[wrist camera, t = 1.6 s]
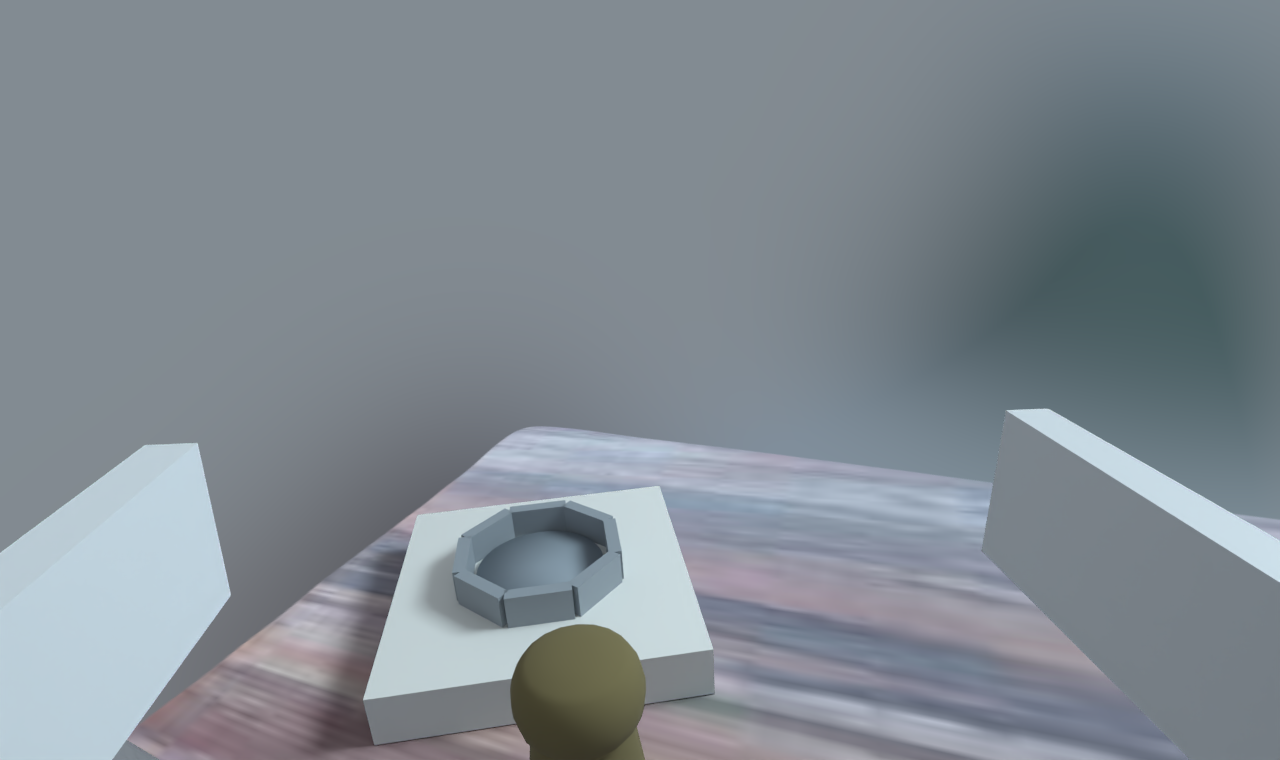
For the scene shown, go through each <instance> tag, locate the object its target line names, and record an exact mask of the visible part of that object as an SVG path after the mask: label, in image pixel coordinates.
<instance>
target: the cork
mask: <svg viewBox="0 0 1280 760" xmlns="http://www.w3.org/2000/svg"><path fill="white" fill-rule="evenodd" d="M645 695H646V678H645V675H644V671H643V668H642V665H641V662H640V659H639V657H638V654H637V652H636V651H635V650H634V649H633V648H632V647H631V645H630V644H629V643H628V642H627V641H626V640H625V639H624V638H623V637H622V636H621V635H619V634H618V633H616V632H614V631H612V630H611V629H609V628H605V627H601V626H597V625H594V624H575V625H570V626H565V627H560V628H558V629H555V630H553V631H550V632H548V633H546V634H544V635H542V636H541V637H540V638H538V639H537V640H536V641H534V642H533V643H531V645H530V646H529V647H528V648H527V650H526V651H525V652H524V653H523V655H522V656H521V658H520V659H519V661H518V663H517V665H516V668H515V670H514V673H513V676H512V679H511V686H510V698H511V709H512V714H513V719H514V720H515V722H516V724H517V726H518V728H519V730H520V732H521V733H522V735H523V737H524V739H525V741H526V743H527V744H529V745H530V760H645V758H644V754H643V750H642V746H641V742H640V738H639V734H638V730H637V725H638V723H639V721H640V719H641V717H642V713H643V709H644V703H645Z"/></svg>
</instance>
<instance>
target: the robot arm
mask: <svg viewBox="0 0 1280 760" xmlns="http://www.w3.org/2000/svg"><path fill="white" fill-rule="evenodd" d="M982 552H983V553H984V554H985V555H986V556H987V557H988V558H989V559H990V560H991V561H992V562H993V563H994V564H995V565H996V566H997V567H998V568H999V569H1000V570H1001V571H1002V572H1003V573H1004V574H1005V575H1006V576H1007V577H1008V578H1009V579H1010V580H1011V581H1012V582H1013V583H1014V584H1015V585H1016V586H1017V587H1018V588H1019V589H1020V590H1021V591H1022V592H1023V593H1024V594H1025V595H1026V596H1027V597H1028V598H1029V599H1030V600H1031V601H1032V602H1033V603H1034V604H1035V605H1036V606H1037V607H1038V608H1039V609H1040V610H1041V611H1042V612H1043V613H1044V614H1045V615H1046V616H1047V617H1048V618H1049V619H1050V620H1051V621H1052V622H1053V623H1054V624H1055V625H1056V626H1057V627H1058V628H1059V629H1060V630H1061V631H1062V632H1063V633H1064V634H1065V635H1066V636H1067V637H1068V638H1069V639H1070V640H1071V641H1072V642H1073V643H1074V644H1075V645H1076V646H1077V647H1078V648H1079V649H1080V650H1081V651H1082V652H1083V653H1084V654H1085V655H1086V656H1087V657H1088V658H1089V659H1090V660H1091V661H1092V662H1093V663H1094V664H1095V665H1096V666H1097V667H1098V668H1099V669H1100V670H1101V671H1102V672H1103V673H1104V674H1105V675H1106V676H1107V677H1108V678H1109V679H1110V680H1111V681H1112V682H1113V683H1114V684H1115V685H1116V686H1117V687H1118V688H1119V689H1120V690H1121V691H1122V692H1123V693H1124V694H1125V695H1126V696H1127V697H1128V698H1129V699H1130V700H1131V701H1132V702H1133V703H1134V704H1135V705H1136V706H1137V707H1138V708H1139V709H1140V710H1141V711H1142V712H1143V713H1144V714H1145V715H1146V716H1147V717H1148V718H1149V719H1150V720H1151V721H1152V722H1153V723H1154V724H1155V725H1156V726H1157V727H1158V728H1159V729H1160V730H1161V731H1162V732H1163V733H1164V734H1165V735H1166V736H1167V737H1168V738H1169V739H1170V740H1171V741H1172V742H1173V743H1174V744H1175V745H1176V746H1177V747H1178V748H1179V749H1180V750H1181V751H1182V752H1183V753H1184V754H1185V755H1186V756H1187V757H1188V758H1189V759H1190V760H1280V541H1279V540H1278V539H1276V538H1274V537H1272V536H1271V535H1269V534H1267V533H1265V532H1264V531H1262V530H1260V529H1258V528H1257V527H1255V526H1253V525H1251V524H1250V523H1248V522H1246V521H1244V520H1243V519H1241V518H1239V517H1237V516H1236V515H1234V514H1232V513H1230V512H1229V511H1227V510H1225V509H1223V508H1222V507H1220V506H1218V505H1216V504H1215V503H1213V502H1211V501H1209V500H1207V499H1206V498H1204V497H1202V496H1201V495H1199V494H1197V493H1195V492H1194V491H1192V490H1190V489H1188V488H1186V487H1185V486H1183V485H1181V484H1180V483H1178V482H1176V481H1174V480H1172V479H1171V478H1169V477H1167V476H1165V475H1164V474H1162V473H1160V472H1158V471H1157V470H1155V469H1153V468H1151V467H1150V466H1148V465H1146V464H1144V463H1143V462H1141V461H1139V460H1137V459H1136V458H1134V457H1132V456H1130V455H1128V454H1127V453H1125V452H1123V451H1122V450H1120V449H1118V448H1116V447H1115V446H1113V445H1111V444H1109V443H1108V442H1106V441H1104V440H1102V439H1101V438H1099V437H1097V436H1095V435H1094V434H1092V433H1090V432H1088V431H1087V430H1085V429H1083V428H1081V427H1079V426H1078V425H1076V424H1074V423H1073V422H1071V421H1069V420H1067V419H1066V418H1064V417H1062V416H1060V415H1059V414H1057V413H1055V412H1053V411H1051V410H1050V409H1029V410H1006V413H1005V419H1004V425H1003V431H1002V437H1001V442H1000V448H999V454H998V460H997V465H996V471H995V477H994V482H993V488H992V494H991V499H990V505H989V511H988V517H987V522H986V528H985V534H984V540H983V545H982ZM230 596H231V593H230V589H229V584H228V580H227V575H226V571H225V566H224V561H223V557H222V553H221V548H220V544H219V539H218V534H217V530H216V525H215V520H214V516H213V511H212V507H211V503H210V498H209V493H208V489H207V484H206V480H205V475H204V471H203V466H202V462H201V457H200V453H199V448H198V443H187V444H162V445H144V446H143V447H142V448H141V449H139V450H138V451H136V452H135V453H134V454H132V455H131V456H130V457H129V458H127V459H126V460H124V461H123V462H122V463H120V464H119V465H118V466H116V467H115V468H114V469H112V470H111V471H110V472H108V473H107V474H105V475H104V476H103V477H101V478H100V479H99V480H98V481H96V482H95V483H93V484H92V485H91V486H90V487H88V488H87V489H85V490H84V491H83V492H81V493H80V494H79V495H77V496H76V497H75V498H73V499H72V500H71V501H69V502H68V503H67V504H65V505H64V506H63V507H61V508H60V509H58V510H57V511H56V512H54V513H53V514H52V515H50V516H49V517H48V518H46V519H45V520H44V521H42V522H41V523H40V524H38V525H37V526H36V527H34V528H33V529H32V530H30V531H29V532H28V533H26V534H25V535H24V536H22V537H21V538H20V539H18V540H17V541H15V542H14V543H13V544H11V545H10V546H9V547H8V548H6V549H5V550H4V551H2V552H1V553H0V760H112V759H113V758H114V757H115V755H116V754H117V752H118V751H119V750H120V748H121V747H122V745H123V744H124V743H125V741H126V740H127V739H128V737H129V736H130V734H131V733H132V732H133V730H134V729H135V727H136V726H137V725H138V723H139V722H140V720H141V719H142V718H143V716H144V715H145V714H146V712H147V711H148V709H149V708H150V706H151V705H152V704H153V702H154V701H155V700H156V698H157V697H158V696H159V694H160V693H161V691H162V690H163V688H164V687H165V686H166V684H167V683H168V682H169V680H170V678H172V676H173V675H174V673H175V672H176V671H177V669H178V668H179V666H180V665H181V664H182V662H183V661H184V659H185V658H186V657H187V655H188V654H189V652H190V651H191V650H192V648H193V647H194V645H195V644H196V643H197V641H198V640H199V639H200V637H201V636H202V635H203V633H204V632H205V630H206V629H207V628H208V626H209V625H210V623H211V622H212V621H213V619H214V618H215V617H216V615H217V614H218V612H219V611H220V610H221V608H222V607H223V605H224V604H225V603H226V601H227V600H228V598H229V597H230Z"/></svg>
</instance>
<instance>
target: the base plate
mask: <svg viewBox="0 0 1280 760" xmlns="http://www.w3.org/2000/svg"><path fill="white" fill-rule="evenodd" d="M575 624H594V625H597V626H601V627H605V628H609V629H611V630H612V631H614V632H616V633H618V634H619V635H621V636H622V637H623V638H624V639H625V640H626V641H627V642H628V643H629V644H630V645H631V647H632V648H633V649H634V650H635V651H636V652H637V654H638V657H639V659H640V662H641V665H642V668H643V671H644V675H645V678H646V695H645V703H644V704H649V703H656V702H662V701H669V700H675V699H682V698H689V697H695V696H702V695H708V694H715V691H714V659H713V647H712V644H711V641H710V638H709V635H708V632H707V629H706V626H705V623H704V620H703V617H702V614H701V611H700V608H699V605H698V602H697V599H696V596H695V593H694V590H693V587H692V584H691V581H690V577H689V574H688V571H687V568H686V565H685V562H684V559H683V556H682V553H681V550H680V547H679V544H678V541H677V538H676V535H675V532H674V529H673V526H672V523H671V520H670V517H669V514H668V511H667V508H666V505H665V502H664V499H663V496H662V493H661V490H660V487H659V486H654V487H646V488H638V489H630V490H621V491H613V492H605V493H596V494H588V495H580V496H571V497H563V498H555V499H547V500H538V501H530V502H522V503H513V504H505V505H497V506H488V507H480V508H472V509H464V510H455V511H447V512H439V513H430V514H422V515H418V516H417V519H416V522H415V526H414V529H413V532H412V536H411V539H410V543H409V546H408V549H407V553H406V556H405V560H404V563H403V566H402V570H401V573H400V576H399V580H398V583H397V587H396V590H395V593H394V597H393V600H392V604H391V607H390V610H389V614H388V617H387V620H386V624H385V627H384V631H383V634H382V637H381V641H380V644H379V648H378V651H377V654H376V658H375V661H374V664H373V668H372V671H371V675H370V678H369V681H368V685H367V688H366V692H365V695H364V698H363V703H364V707H365V711H366V714H367V718H368V722H369V726H370V730H371V734H372V738H373V742H374V745H379V744H386V743H393V742H399V741H406V740H412V739H419V738H426V737H432V736H439V735H445V734H452V733H458V732H465V731H472V730H478V729H485V728H491V727H498V726H504V725H511V724H516V722H515V720H514V719H513V714H512V709H511V698H510V686H511V679H512V676H513V673H514V670H515V668H516V665H517V663H518V661H519V659H520V658H521V656H522V655H523V653H524V652H525V651H526V650H527V648H528V647H529V646H530V645H531V643H533V642H534V641H536V640H537V639H538V638H540V637H541V636H542V635H544V634H546V633H548V632H550V631H553V630H555V629H558V628H560V627H565V626H570V625H575Z"/></svg>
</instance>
